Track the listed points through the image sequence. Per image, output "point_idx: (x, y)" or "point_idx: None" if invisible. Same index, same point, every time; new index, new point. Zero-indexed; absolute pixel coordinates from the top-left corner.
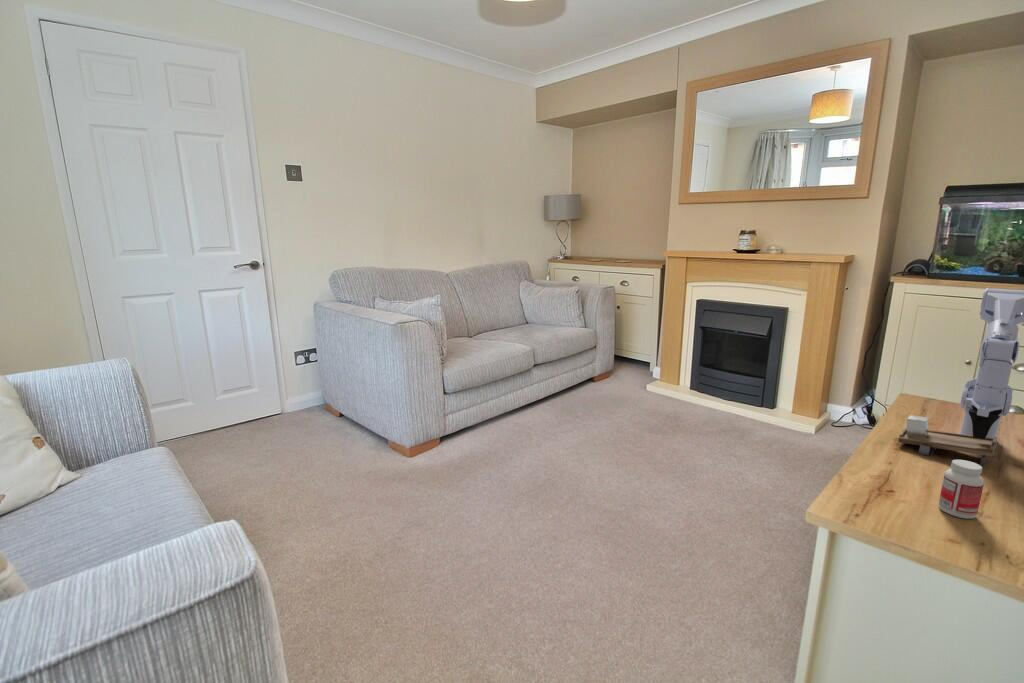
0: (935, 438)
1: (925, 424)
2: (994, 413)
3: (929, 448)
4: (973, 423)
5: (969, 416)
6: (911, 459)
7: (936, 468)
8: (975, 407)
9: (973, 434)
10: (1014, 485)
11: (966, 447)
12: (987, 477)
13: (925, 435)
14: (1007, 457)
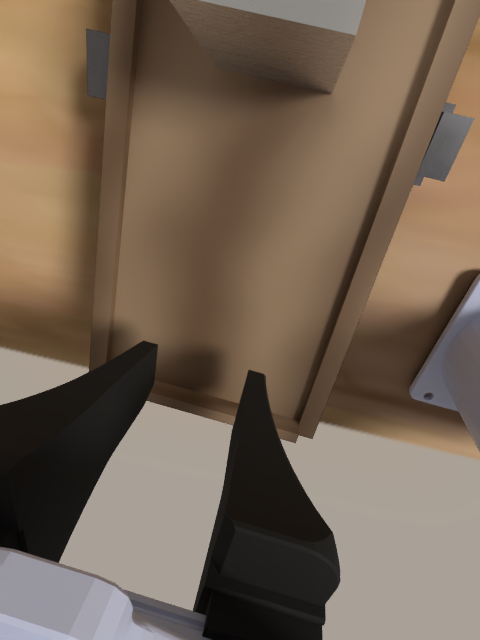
0: (246, 138)
1: (180, 12)
2: (199, 587)
3: (91, 95)
4: (58, 390)
5: None
6: (26, 4)
7: (8, 134)
8: (220, 538)
9: (133, 348)
10: (72, 362)
11: (95, 282)
12: (76, 306)
13: (212, 58)
14: (359, 413)
